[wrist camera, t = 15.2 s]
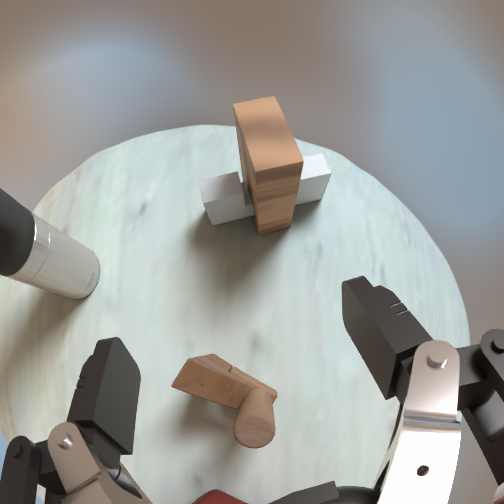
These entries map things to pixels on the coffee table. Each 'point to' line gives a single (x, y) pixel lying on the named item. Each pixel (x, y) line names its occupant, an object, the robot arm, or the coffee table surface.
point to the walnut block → (268, 162)
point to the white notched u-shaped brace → (238, 199)
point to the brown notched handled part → (232, 396)
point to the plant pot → (217, 498)
